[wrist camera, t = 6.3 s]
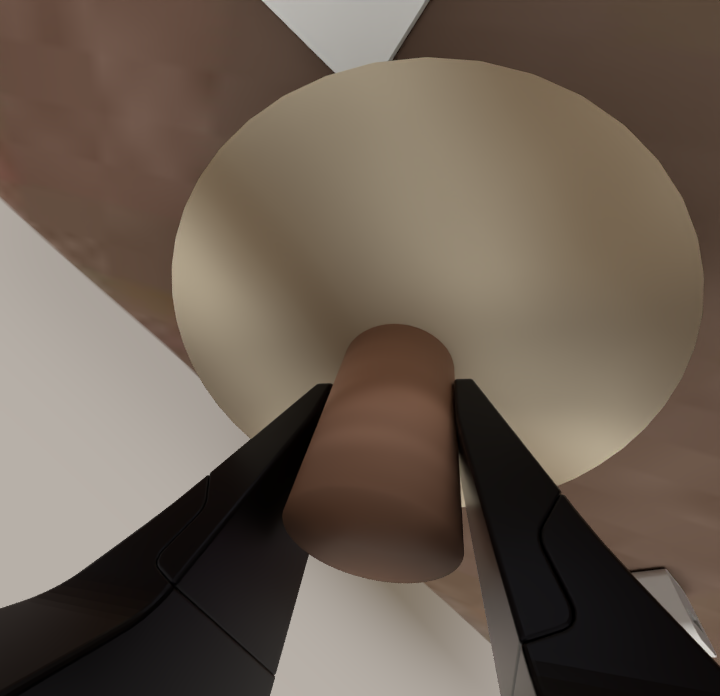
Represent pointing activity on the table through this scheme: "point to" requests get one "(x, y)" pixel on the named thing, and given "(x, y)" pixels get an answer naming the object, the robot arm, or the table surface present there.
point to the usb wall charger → (675, 603)
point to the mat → (350, 28)
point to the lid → (433, 291)
